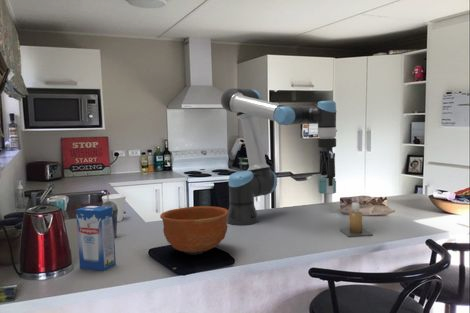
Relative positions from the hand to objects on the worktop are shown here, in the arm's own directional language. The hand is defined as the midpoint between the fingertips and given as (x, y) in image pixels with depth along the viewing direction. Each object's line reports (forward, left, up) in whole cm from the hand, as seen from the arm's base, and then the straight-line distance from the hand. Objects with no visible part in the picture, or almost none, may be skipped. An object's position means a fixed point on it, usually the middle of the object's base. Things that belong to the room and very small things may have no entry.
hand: (327, 191), depth 171 cm
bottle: (+9, -8, -16) cm, 21 cm away
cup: (-98, +38, -17) cm, 106 cm away
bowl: (-56, -21, -17) cm, 62 cm away
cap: (0, 0, 0) cm, 0 cm away
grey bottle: (-93, +6, -17) cm, 94 cm away
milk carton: (-89, -30, -17) cm, 95 cm away
